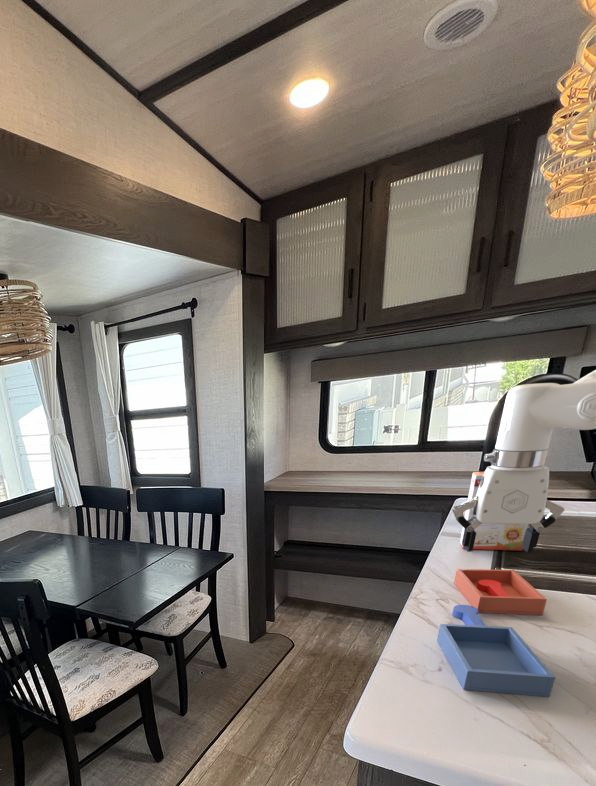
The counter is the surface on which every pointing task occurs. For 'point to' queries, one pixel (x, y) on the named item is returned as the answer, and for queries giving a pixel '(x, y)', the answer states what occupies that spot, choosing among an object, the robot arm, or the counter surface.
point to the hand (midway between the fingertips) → (496, 550)
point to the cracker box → (494, 527)
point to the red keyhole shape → (491, 588)
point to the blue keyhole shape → (467, 615)
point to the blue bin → (494, 660)
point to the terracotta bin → (513, 584)
